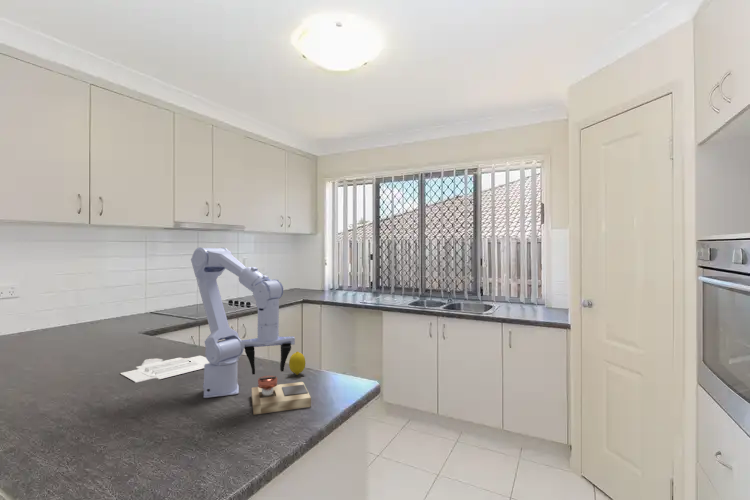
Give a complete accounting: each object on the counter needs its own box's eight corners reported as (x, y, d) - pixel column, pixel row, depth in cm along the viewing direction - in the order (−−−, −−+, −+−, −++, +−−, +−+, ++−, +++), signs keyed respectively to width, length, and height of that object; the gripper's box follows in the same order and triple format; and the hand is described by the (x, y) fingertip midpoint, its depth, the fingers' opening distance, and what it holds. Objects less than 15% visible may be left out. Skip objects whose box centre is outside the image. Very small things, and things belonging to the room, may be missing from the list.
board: (253, 414, 96) (253, 403, 96) (251, 396, 109) (251, 386, 109) (310, 406, 102) (311, 396, 102) (302, 389, 114) (302, 380, 114)
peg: (258, 408, 101) (258, 381, 101) (257, 400, 105) (257, 375, 106) (277, 405, 102) (278, 379, 102) (276, 398, 107) (276, 373, 107)
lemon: (301, 378, 124) (301, 354, 124) (286, 376, 126) (286, 353, 126) (307, 372, 130) (308, 350, 130) (293, 371, 131) (293, 349, 131)
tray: (222, 365, 139) (222, 356, 139) (139, 390, 117) (139, 379, 116) (195, 356, 151) (195, 347, 151) (115, 377, 129) (115, 366, 129)
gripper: (240, 327, 98) (240, 379, 98) (296, 324, 103) (296, 373, 103) (240, 322, 104) (240, 371, 104) (292, 319, 109) (292, 365, 109)
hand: (267, 371), depth 104 cm, fingers open, 7 cm apart
